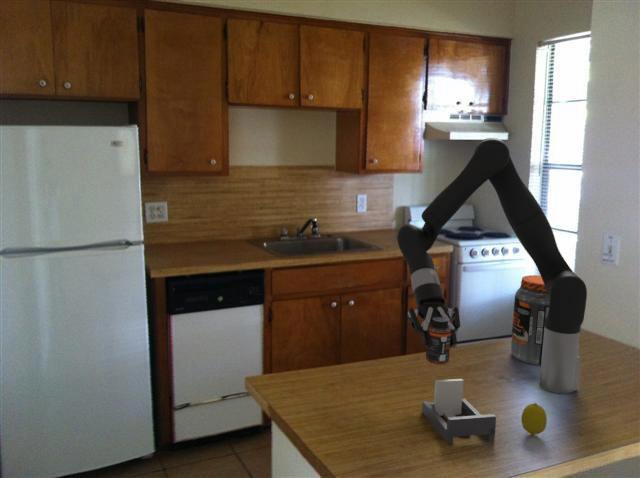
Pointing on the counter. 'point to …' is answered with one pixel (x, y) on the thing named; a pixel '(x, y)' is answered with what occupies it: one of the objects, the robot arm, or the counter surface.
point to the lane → (461, 422)
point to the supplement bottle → (439, 341)
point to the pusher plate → (448, 397)
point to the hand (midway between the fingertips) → (441, 345)
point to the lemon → (534, 419)
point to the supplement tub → (529, 319)
